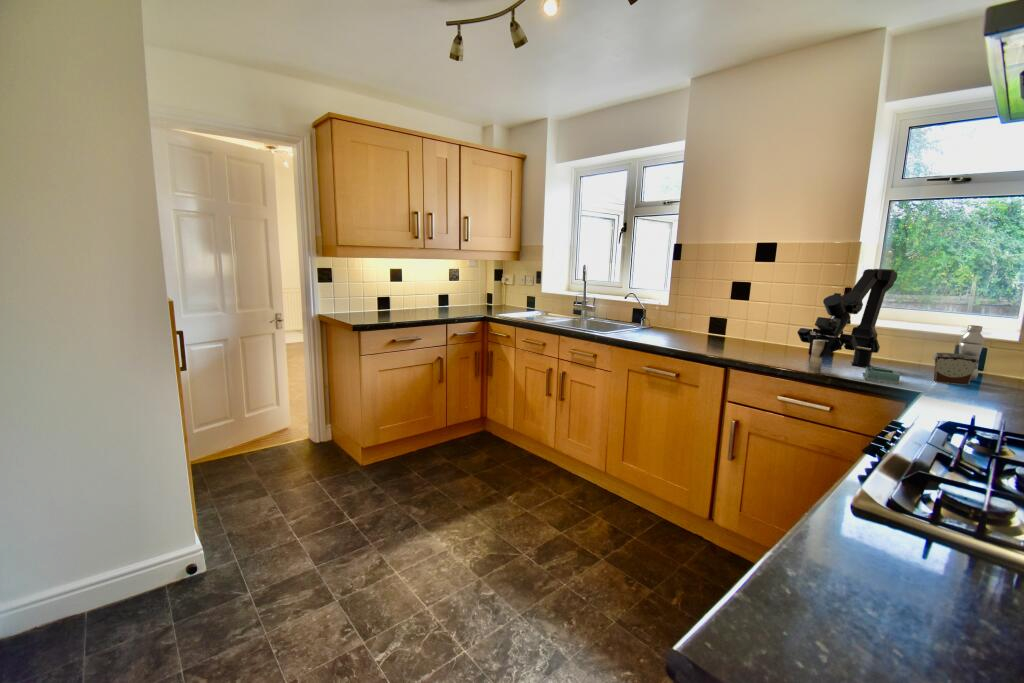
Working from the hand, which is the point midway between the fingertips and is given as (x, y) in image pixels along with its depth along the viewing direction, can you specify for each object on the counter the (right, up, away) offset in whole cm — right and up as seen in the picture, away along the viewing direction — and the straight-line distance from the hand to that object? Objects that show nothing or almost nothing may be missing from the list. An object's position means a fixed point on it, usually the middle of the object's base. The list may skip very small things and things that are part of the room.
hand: (814, 355), depth 169 cm
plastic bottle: (+54, -9, -1) cm, 54 cm away
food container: (+44, -10, -4) cm, 45 cm away
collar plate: (+20, -9, -5) cm, 22 cm away
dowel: (+1, -6, +2) cm, 7 cm away
